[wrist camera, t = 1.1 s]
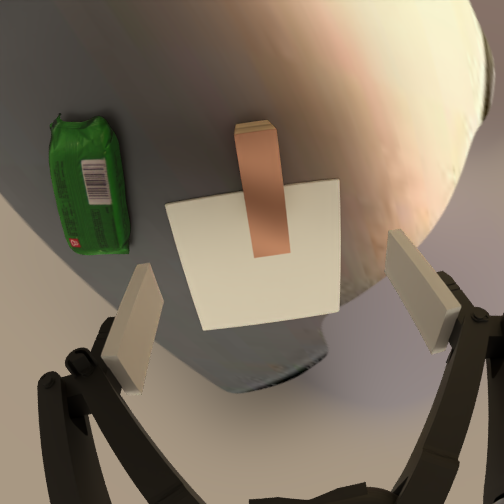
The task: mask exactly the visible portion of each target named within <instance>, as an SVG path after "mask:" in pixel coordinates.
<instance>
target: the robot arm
mask: <svg viewBox="0 0 504 504" xmlns="http://www.w3.org/2000/svg"><path fill="white" fill-rule="evenodd" d="M384 272H385V273H386V275H387V277H388V278H389V280H390V281H391V283H392V285H393V286H394V288H395V290H396V292H397V293H398V295H399V297H400V298H401V300H402V302H403V303H404V305H405V307H406V309H407V310H408V312H409V314H410V316H411V317H412V319H413V321H414V323H415V325H416V326H417V328H418V330H419V332H420V334H421V336H422V337H423V339H424V341H425V343H426V345H427V347H428V349H429V351H430V353H431V354H435V353H439V352H442V351H445V349H446V347H447V344H448V342H449V343H450V345H451V347H452V349H451V352H450V354H449V356H448V359H447V361H446V363H447V365H446V368H445V371H444V374H443V377H442V380H441V383H440V386H439V389H438V392H437V394H436V397H435V400H434V403H433V405H432V408H431V410H430V413H429V415H428V418H427V421H426V423H425V425H424V428H423V430H422V432H421V435H420V437H419V439H418V442H417V444H416V446H415V448H414V450H413V452H412V454H411V457H410V459H409V461H408V463H407V465H406V467H405V469H404V471H403V473H402V474H401V476H400V478H399V479H398V481H397V482H396V484H395V486H394V487H393V489H392V491H391V492H390V491H388V490H384V489H380V488H375V487H366V482H364V483H360V484H355V485H350V486H346V487H341V488H337V489H335V490H333V491H330V492H328V493H325V494H323V495H321V496H318V497H316V498H313V499H310V500H300V499H290V498H280V497H275V498H264V499H249V504H444V502H445V500H446V497H447V495H448V493H449V491H450V488H451V486H452V484H453V481H454V479H455V476H456V474H457V471H458V468H459V463H460V462H459V461H458V457H459V454H460V451H461V448H462V445H463V443H464V439H465V436H466V433H467V430H468V427H469V423H470V420H471V417H472V413H473V409H474V406H475V402H476V398H477V394H478V390H479V386H480V381H481V376H482V372H483V367H484V362H485V359H486V364H487V379H488V403H489V404H488V405H489V406H488V407H489V423H488V425H489V426H488V450H487V464H486V475H485V484H484V496H483V504H504V313H503V316H490V315H489V313H488V312H487V311H486V310H484V309H482V308H480V307H474V306H473V305H472V303H471V302H470V301H469V299H468V298H467V297H466V295H465V294H464V293H463V291H462V290H460V287H459V286H458V285H457V284H456V282H455V281H454V280H453V279H452V277H451V276H449V275H448V274H446V273H445V272H443V271H440V272H436V271H435V270H434V269H433V268H432V266H431V265H430V264H429V263H428V262H427V260H426V259H425V258H424V256H423V255H422V254H421V253H420V252H419V250H418V249H417V248H416V247H415V245H414V244H413V243H412V242H411V241H410V239H409V238H408V237H407V236H406V235H405V234H404V232H403V231H402V230H401V229H396V230H389V231H388V242H387V253H386V262H385V271H384ZM163 303H164V301H163V298H162V295H161V293H160V290H159V287H158V285H157V282H156V279H155V276H154V274H153V271H152V268H151V265H150V263H145V264H138V265H137V266H136V268H135V271H134V273H133V275H132V278H131V280H130V282H129V285H128V287H127V289H126V292H125V294H124V297H123V299H122V302H121V304H120V307H119V309H118V312H117V314H116V317H108V318H107V319H106V320H105V321H104V323H103V324H102V325H101V327H100V330H99V334H98V335H97V337H96V340H95V342H94V345H93V347H92V350H91V352H90V351H89V350H88V349H87V348H78V349H75V350H73V351H72V352H71V353H70V354H69V355H68V356H67V357H66V360H65V366H66V368H67V369H68V370H69V372H70V373H71V374H72V375H68V376H65V377H60V375H59V374H58V373H57V372H54V371H51V372H47V373H46V374H44V375H43V376H42V377H41V378H40V380H39V381H38V386H37V387H38V388H37V389H38V412H39V427H40V438H41V448H42V456H43V464H44V469H45V470H44V471H45V477H46V482H47V488H48V494H49V498H50V503H51V504H112V503H111V500H110V497H109V494H108V491H107V488H106V485H105V481H104V478H103V474H102V471H101V467H100V464H99V460H98V456H97V452H96V448H95V444H94V440H93V436H92V431H91V427H90V422H89V417H88V415H89V414H92V415H93V417H94V418H95V420H96V422H97V424H98V426H99V427H100V429H101V431H102V433H103V434H104V436H105V438H106V440H107V441H108V443H109V445H110V447H111V448H112V450H113V451H114V453H115V455H116V456H117V458H118V460H119V461H120V462H121V464H122V466H123V467H124V469H125V470H126V472H127V473H128V475H129V476H130V478H131V479H132V481H133V482H134V484H135V485H136V487H137V488H138V489H139V491H140V492H141V494H142V495H143V496H144V498H145V499H146V500H147V502H148V503H149V504H206V503H205V502H204V501H203V500H202V499H201V498H200V496H199V495H198V494H197V493H196V492H195V491H194V490H193V489H192V488H191V487H190V486H189V484H188V483H187V482H186V481H185V480H184V479H183V477H182V476H181V475H180V474H179V473H178V472H177V470H175V468H174V467H173V466H172V464H171V463H170V462H169V461H168V460H167V459H166V457H165V456H164V455H163V453H162V452H161V451H160V450H159V448H158V447H157V446H156V444H155V443H154V442H153V441H152V439H151V438H150V436H149V435H148V434H147V433H146V431H145V430H144V428H143V427H142V426H141V424H140V423H139V422H138V420H137V419H136V417H135V416H134V414H133V413H132V412H131V410H130V409H129V407H128V406H127V404H126V403H125V401H124V400H123V398H122V397H121V395H120V393H121V388H122V389H123V390H124V391H125V393H126V394H127V395H142V391H143V387H144V382H145V377H146V373H147V368H148V364H149V360H150V355H151V350H152V347H153V343H154V338H155V334H156V330H157V326H158V322H159V318H160V314H161V310H162V307H163Z"/></svg>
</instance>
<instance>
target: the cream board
mask: <svg viewBox="0 0 504 504" xmlns="http://www.w3.org/2000/svg"><path fill="white" fill-rule="evenodd" d="M283 186H284V195H285V204H286V213H287V222H288V232H289V241H290V251H291V253H287V254H280V255H273V256H266V257H259V258H254V255H253V248H252V242H251V236H250V230H249V224H248V218H247V211H246V205H245V199H244V193H243V191H237V192H231V193H224V194H218V195H212V196H206V197H200V198H194V199H188V200H182V201H177V202H171V203H166V204H165V207H166V211H167V215H168V218H169V222H170V225H171V229H172V232H173V236H174V239H175V243H176V246H177V249H178V253H179V256H180V259H181V263H182V266H183V269H184V273H185V276H186V279H187V282H188V285H189V288H190V292H191V295H192V298H193V301H194V304H195V307H196V310H197V313H198V316H199V319H200V322H201V325H202V328H203V330H212V329H221V328H230V327H238V326H246V325H254V324H262V323H269V322H276V321H283V320H290V319H297V318H303V317H310V316H316V315H322V314H328V313H334V312H339V303H340V258H341V229H340V185H339V179H338V178H337V179H328V180H319V181H311V182H302V183H294V184H287V185H283Z"/></svg>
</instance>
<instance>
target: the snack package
mask: <svg viewBox="0 0 504 504" xmlns="http://www.w3.org/2000/svg"><path fill="white" fill-rule="evenodd" d="M60 115H61V114H60V113H59V116H58V118H56V119H55V120H54V121H53V123H51V124H50V129H51V140H50V144H49V167H50V174H51V179H52V184H53V189H54V194H55V198H56V203H57V208H58V212H59V216H60V220H61V223H62V227H63V231H64V234H65V238H66V240H67V242H68V245H69V246H70V248H71V249H72V250H73V251H74V252H76V253H78V254H82V255H97V254H129V236H130V221H129V216H128V210H127V205H126V197H125V183H124V176H123V168H122V163H121V157H120V149H119V142H118V139H117V137H116V135H115V133H114V131H113V130H112V129H111V127H110V126H109V124H108V122H107V121H106V120H105V119H104V118H103V117H100V116H96V117H94V118H92V119H90V120H88V121H84V122H65V121H62V120H61V119H60Z"/></svg>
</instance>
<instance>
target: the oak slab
mask: <svg viewBox="0 0 504 504" xmlns="http://www.w3.org/2000/svg"><path fill="white" fill-rule="evenodd" d="M234 138H235V144H236V150H237V156H238V162H239V168H240V174H241V181H242V187H243V193H244V199H245V205H246V211H247V218H248V224H249V230H250V236H251V242H252V248H253V255H254V258H259V257H266V256H273V255H280V254H287V253H291V251H290V241H289V232H288V222H287V213H286V204H285V195H284V186H283V178H282V170H281V161H280V153H279V146H278V138H277V130H276V128H275V127H274V126H273V125H272V124H271V123H270V122H269V121H268V120H262V121H254V122H247V123H241V124H236V127H235V132H234Z"/></svg>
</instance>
